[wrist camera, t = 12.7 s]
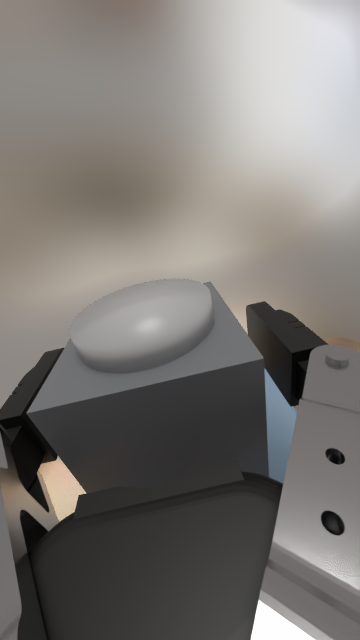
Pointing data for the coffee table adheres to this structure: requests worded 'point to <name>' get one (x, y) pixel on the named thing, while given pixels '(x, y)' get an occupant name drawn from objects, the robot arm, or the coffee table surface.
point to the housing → (155, 389)
